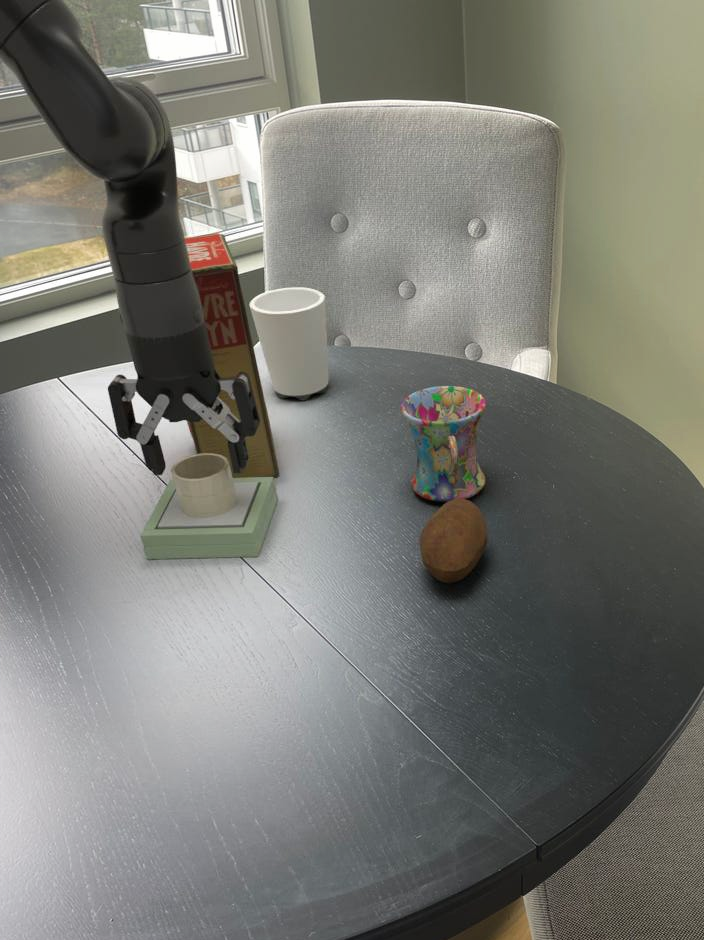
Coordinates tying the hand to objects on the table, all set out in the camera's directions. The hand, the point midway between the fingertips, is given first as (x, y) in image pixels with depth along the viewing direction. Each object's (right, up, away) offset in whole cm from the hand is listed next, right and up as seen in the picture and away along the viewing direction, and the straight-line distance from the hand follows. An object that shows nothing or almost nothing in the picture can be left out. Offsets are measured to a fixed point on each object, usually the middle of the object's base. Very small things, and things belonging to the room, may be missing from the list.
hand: (199, 471), depth 103 cm
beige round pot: (0, -3, +3) cm, 4 cm away
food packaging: (0, +4, +17) cm, 18 cm away
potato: (+27, -11, -3) cm, 29 cm away
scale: (0, -6, +5) cm, 7 cm away
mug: (+26, -1, +9) cm, 28 cm away
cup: (+5, +17, +33) cm, 37 cm away
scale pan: (0, -4, +4) cm, 6 cm away
